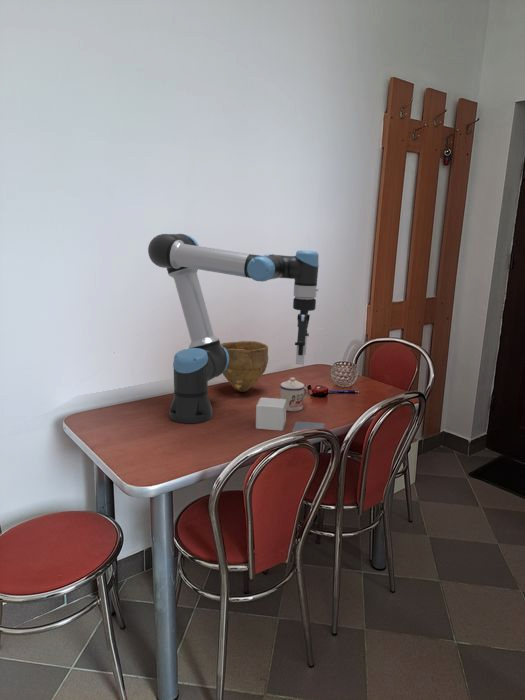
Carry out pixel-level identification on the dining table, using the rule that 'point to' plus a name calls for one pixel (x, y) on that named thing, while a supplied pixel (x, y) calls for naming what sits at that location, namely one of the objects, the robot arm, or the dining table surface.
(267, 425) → the cover
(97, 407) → the dining table surface
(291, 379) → the teacup with lid
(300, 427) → the pad
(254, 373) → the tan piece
